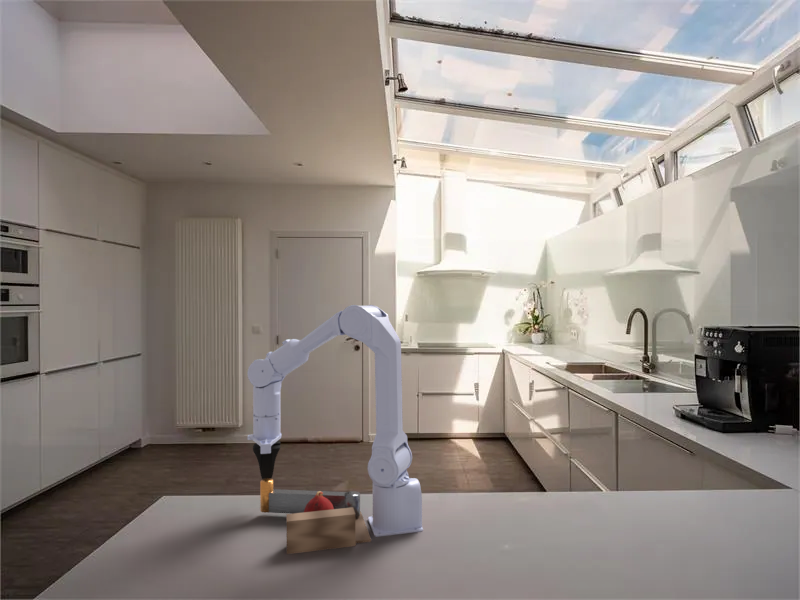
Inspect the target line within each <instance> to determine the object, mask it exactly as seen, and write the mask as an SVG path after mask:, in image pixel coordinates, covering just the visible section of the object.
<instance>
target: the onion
mask: <svg viewBox="0 0 800 600" xmlns="http://www.w3.org/2000/svg"><path fill="white" fill-rule="evenodd" d="M318 491H319V492H317V494H316V496H315V497H314V498H312V499H311V500H310V501H309V502H308V503H307V505H306V507H305V510H304V512H313V511H322V510H332V509H334V507H333V505H332V503H331V502H330V501H329V500H328V499H327V498H325V497H323V495H322V494H323V492H321V491H322V490H318Z"/></svg>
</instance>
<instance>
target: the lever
mask: <svg viewBox="0 0 800 600" xmlns="http://www.w3.org/2000/svg"><path fill="white" fill-rule="evenodd" d="M259 483H260V487H259V488H260V489H259V490H260V491H259V492H260V493H259V494H260V495H259V498H260V500H259V501H260V503H259V504H260V505H259V506H260V507H259V509H260V512H261V513H271V514H273V513H274V514H294V513H303V512H304V510H305V507H306V505H307V503H308V502H309V501H310V500H311V499H312V498H314V497H315V496H316V494H317V492H319V491H321V492H323V494H322V495H323V497H325V498H327V499H328V500H329V501H330V502H331V503H332V505H333V507H334V509H341V508H351V507H353V509H354V511H355V517H357V516H359V515H360V511H361V493H360V491H356V490H351V491H329V490H300V489H299V490H298V489H281V488H280V489H276V488H275V489H274V478H267V479H261V480H260V481H259Z"/></svg>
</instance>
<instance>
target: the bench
mask: <svg viewBox="0 0 800 600" xmlns="http://www.w3.org/2000/svg"><path fill="white" fill-rule="evenodd" d="M369 532H370V531H369V530H368V527H367V525H366V521H365V520H364V516H363V513H362V511H361V510H360V515H359V516H357V517H355V511H354V509H353V507H351V508H341V509H332V510H322V511H313V512H303V513H294V514H290V513H286V555H291V554H298V553H299V554H300V553H309V552H315V551H316V552H317V551H323V550H332V549H340V548H341V549H342V548H349V547H356V545H357V544H362V543H372V538H371V535H370V533H369Z"/></svg>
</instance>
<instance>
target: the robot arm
mask: <svg viewBox="0 0 800 600" xmlns="http://www.w3.org/2000/svg"><path fill="white" fill-rule="evenodd" d="M345 335H346V336H347V337H349V338H351V339H354V340H357V341H359V342H361V343H363V344H364V345H365V346H366V347H368V349H369V350H371V351H372V352H373V353H374V377H375V378H374V379H375V380H374V385H375V387H374V388H375V430H376V431H375V432H376V433H375V437H374V439H373V442H372V445H371V456H370V458H369V461H368V463H367V473H368V476H369V478H370V479H371V482H372V515H371V516H370V515H369V516H368V517H367V520H368V523H369V526H370V528H371V532H372V533H373V536H374V537H377V538H378V537H385V536H386V537H387V536H394V535H402V534H410V533H419V532H423V531H424V528H423V496H422V495H423V494H422V490H421V489H422V487H421V484H420V481H419V479H418V478H415V477H413V478H412V477H410V476H409V472H408V469H409V467H411V464H412V462H413V454H412V450H411V448H410V446H409V444H408V443H409V442H408V435H407V433H405V431H404V430H403V429H404V425H403V421H404V420H403V383H402V381H403V379H402V378H403V376H402V375H403V374H402V373H403V372H402V371H403V370H402V343H401V339H400V337H399V335H398V333H397V332H396V330H395V328H394V326H393V325H392V323H391V321H390V317H389V314H388V313H386V312H385V311H384V310H383V309H381V308H380V307H379V306H377V305H374V304H369V305H368V304H367V305H357V304H352V305H348V306H347V307H345V308H344V309H343V310H339V311H338V312H336V313H334V314H333V315H332V316H331V317H329V318H328V319H326V320H325V321H324V322H322V323H321V324H320V325H318V326H317V327H316V328H315V329H313V330H312V331H311V332H309V333H308V334H307V335H306V336H305V335H304V337H303V338H302V339H297V338H292V339H291V338H289V339H285V340H283V341H282V342H281V343H282V345H280V346H279V347H278V348H277V349H275V350H274V351H268V352H267V353H266V355H265V358H263V359H262V358H259V359H258V358H257V359H253V361H252V362H251V363H250V365H249V366H248V367H247V368H248V369H247V378H248V381H249V383H250V384H251V385H252V386H253V387H252V418H253V419H252V420H253V422H252V426H253V427H252V432H253V433H251V434H248V435H247V439H246V440H247V441H253V442H254V444H253V447H252V450H253V451H252V452H253V453H254V455H255V458H256V459H257V463H258V467H259V473H260V477H261V480H263V479H267V478H270V479H273V475H274V469H275V463H276V460H277V456H278V453H280V450H281V441H280V440H281V439H282V432H281V426H282V425H281V423H282V421H281V418H282V417H281V415H282V414H281V413H282V411H281V404H282V403H281V402H282V401H281V399H282V398H281V389H282V383H283V381H284V380H285V378H286V376H288V375H289V374H291V373H292V372H293V371H295V370H296V369H298V368H300V367H301V366H302V365H305V363H307V362H308V361H309V358H310V357H309V356H310V353H312V352H313V351H315V350H316V349H318V348H319V347H321V346H323V345H324V344H326V343H328V342H330V341H332V340H333V339H335V338H337V337H338V336H345Z"/></svg>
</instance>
